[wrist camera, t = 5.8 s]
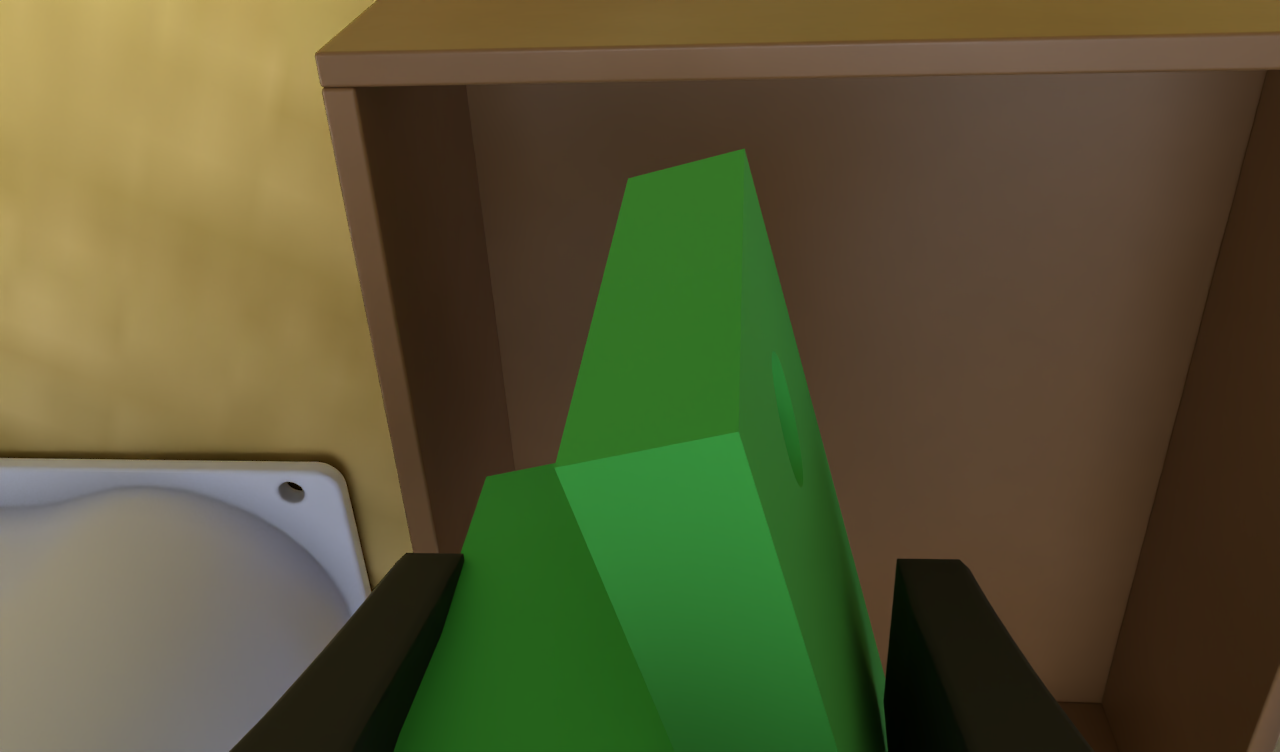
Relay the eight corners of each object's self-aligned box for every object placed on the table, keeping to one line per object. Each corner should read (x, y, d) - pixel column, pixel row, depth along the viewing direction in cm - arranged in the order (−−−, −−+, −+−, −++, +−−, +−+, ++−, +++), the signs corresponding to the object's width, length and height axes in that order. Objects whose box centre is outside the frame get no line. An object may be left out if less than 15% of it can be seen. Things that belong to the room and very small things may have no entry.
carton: (1319, -74, 15) (1564, 26, 11) (1111, 701, 24) (1199, 941, 19) (430, -48, 17) (311, 52, 12) (529, 684, 25) (482, 907, 20)
